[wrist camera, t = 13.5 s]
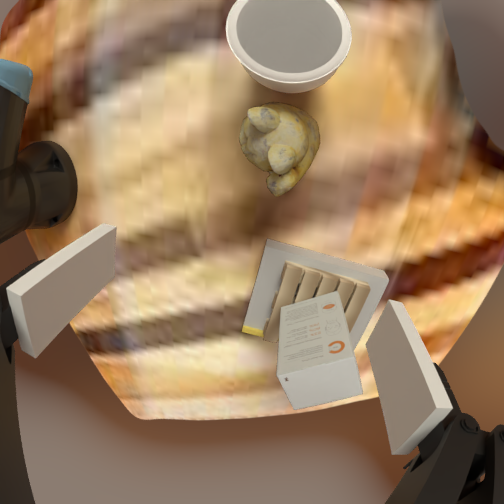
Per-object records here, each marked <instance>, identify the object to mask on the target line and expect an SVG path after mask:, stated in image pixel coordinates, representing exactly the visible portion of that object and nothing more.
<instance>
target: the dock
mask: <svg viewBox="0 0 504 504" xmlns="http://www.w3.org/2000/svg"><path fill="white" fill-rule="evenodd" d="M285 260H286V261H290V262H293V263H297V264H301V265H305V266H308V267H312V268H316V269H320V270H323V271H327V272H331V273H335V274H338V275H342V276H346V277H350V278H353V279H357V280H361V281H365V282H368V284H369V286H370V289H371V290H370V293H369V295H368V297H367V299H366V301H365V303H364V306H363V308H362V310H361V312H360V314H359V316H358V318H357V320H356V322H355V324H354V326H353V328H352V330H351V332H350V337H351V341H352V345H353V349H354V350H355V348H356V346H357V344H358V342H359V340H360V338H361V337H362V335H363V333H364V331H365V329H366V327H367V325H368V323H369V321H370V319H371V317H372V315H373V313H374V311H375V309H376V307H377V305H378V303H379V301H380V299H381V297H382V295H383V292H384V290H385V288H386V286H387V284H388V282H389V279H388V277H387V275H386V273H385V272H384V271H383V270H380V269H376V268H373V267H369V266H366V265H362V264H359V263H355V262H351V261H348V260H344V259H341V258H337V257H334V256H330V255H326V254H323V253H319V252H315V251H312V250H308V249H304V248H301V247H297V246H293V245H290V244H286V243H282V242H279V241H275V240H271V239H267V242H266V245H265V249H264V252H263V256H262V260H261V263H260V267H259V270H258V274H257V278H256V281H255V285H254V288H253V292H252V296H251V299H250V303H249V306H248V310H247V313H246V317H245V321H244V325H243V329H242V332H245V333H248V334H252V335H256V336H260V337H264V335H263V329H264V326H265V323H266V320H267V318H269V319H270V316H271V313H272V310H273V308H271V307H272V301H273V298H274V295H275V292H276V291H279V288H280V285H281V282H282V279H281V273H282V270H283V267H284V263H285ZM299 285H300V283H298V286H297V289H296V291H295V294H294V296H296V293H297V291H298V288H299ZM316 290H317V288H316V289H315V292H316ZM315 292H314V295H315ZM314 295H313V297H312V298H314ZM349 298H350V297H349ZM345 307H346V306H345ZM278 341H279V338H278Z"/></svg>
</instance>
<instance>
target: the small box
mask: <svg viewBox="0 0 504 504" xmlns="http://www.w3.org/2000/svg"><path fill="white" fill-rule="evenodd" d="M276 376H277V378H278V379H279V381H280V383H281V385H282V387H283V389H284V391H285V393H286V395H287V397H288V399H289V401H290V403H291V405H292V407H293V409H294V410H297V409H302V408H307V407H311V406H316V405H321V404H325V403H329V402H333V401H337V400H341V399H345V398H349V397H353V396H357V395H360V394H363V390H362V385H361V379H360V375H359V370H358V366H357V362H356V357H355V353H354V349H353V345H352V341H351V337H350V333H349V329H348V325H347V321H346V317H345V313H344V310H343V306H342V302H341V299H340V295H339V293H338V291H334V292H331V293H328V294H324V295H321V296H318V297H314V298H311V299H307V300H304V301H301V302H297V303H294V304H290V305H287V306H283V307H281V312H280V325H279V343H278V358H277V372H276Z"/></svg>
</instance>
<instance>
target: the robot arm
mask: <svg viewBox="0 0 504 504" xmlns="http://www.w3.org/2000/svg"><path fill="white" fill-rule="evenodd" d="M32 81H33V73H32V70H31V69H30V68H29V67H28V66H26V65H23V64H20V63H16V62H12V61H8V60H4V59H0V244H1V243H3V242H4V241H6V240H8V239H9V238H11V237H13V236H15V235H16V234H18V233H20V232H22V231H24V230H26V229H42V228H50V227H53V226H55V225H57V224H59V223H61V222H63V221H64V220H65V219H67V217H68V216H69V215H70V213H71V212H72V210H73V208H74V205H75V201H76V196H77V178H76V172H75V169H74V166H73V163H72V161H71V159H70V157H69V155H68V154H67V152H66V151H65V150H64V149H63V148H62V147H61V146H60V145H59V144H57V143H55V142H52V141H41V142H36V143H33V144H30V145H29V146H27V147H26V148H24V149H23V150H21V151H20V152H19V153H18V150H19V144H20V138H21V132H22V127H23V123H24V118H25V113H26V109H27V105H28V104H29V94H30V90H31V85H32ZM115 245H116V227H115V226H112V225H108V224H105V223H103V224H101V225H99V226H98V227H96V228H95V229H93V230H91V231H90V232H88V233H86V234H85V235H83V236H82V237H80V238H78V239H77V240H75V241H74V242H72V243H71V244H69V245H68V246H66V247H64V248H63V249H61V250H60V251H58V252H57V253H55V254H54V255H52V256H51V257H49V258H48V259H46V260H45V259H43V260H40V261H37V262H35V263H33V264H31V265H30V266H28V267H27V268H25V270H22V271H21V272H20V273H19V274H17V275H15V276H14V277H13V278H11V279H10V280H8V281H7V282H6V283H4V284H3V285H1V286H0V504H35V501H34V498H33V494H32V490H31V486H30V482H29V478H28V474H27V469H26V464H25V459H24V454H23V448H22V442H21V436H20V428H19V421H18V412H17V400H16V385H15V350H14V346H13V343H14V342H15V341H16V340H17V339H19V343H20V346H21V349H22V351H24V352H26V353H27V354H29V355H31V356H33V357H34V358H37V356H38V355H39V354H40V353H41V352H42V351H43V350H44V348H46V347H47V345H48V344H49V343H50V342H51V341H52V340H53V339H54V338H55V337H56V336H57V335H58V333H60V332H61V330H62V329H63V328H64V327H65V326H66V325H67V324H68V323H69V322H70V321H71V320H72V319H73V318H74V317H75V316H76V315H77V314H78V313H79V312H80V311H81V310H82V309H83V308H84V307H85V306H86V305H87V304H88V303H89V302H90V301H91V300H92V299H93V298H94V297H95V296H96V295H97V294H98V293H99V292H100V291H101V290H102V289H103V288H104V287H105V286H106V285H107V284H108V283H109V282H110V281H111V280H112V279H113V278H114V275H115ZM366 348H367V351H368V355H369V358H370V362H371V366H372V370H373V373H374V377H375V381H376V385H377V389H378V393H379V397H380V401H381V405H382V410H383V414H384V419H385V423H386V428H387V433H388V436H389V442H390V447H391V452H392V454H409V453H410V452H411V451H412V450H414V448H416V446H418V447H419V451H420V453H419V454H418V455H417V456H416V457H415V458H413V459H412V460H411V461H410V462H409V463H408V464H407V465H406V466H405V467H403V468H404V469H406V468H407V467H408V466H409V468H408V469H407V471H406V473H405V474H404V476H403V477H402V479H401V481H400V482H399V484H398V485H397V487H396V488H395V490H394V491H393V493H392V494H391V495H390V497H389V498H388V500H387V501H386V503H385V504H504V425H498V426H496V427H495V428H494V429H493V430H492V431H491V432H486V431H483V430H480V427H479V424H478V423H477V421H476V420H475V419H474V418H473V417H472V416H470V415H468V414H465V413H461V410H460V408H459V406H458V403H457V401H456V399H455V397H454V394H453V392H452V390H451V389H450V385H449V383H448V382H447V379H446V377H445V375H444V373H443V371H442V370H441V369H440V367H439V366H438V365H437V364H436V363H433V362H432V360H431V358H430V356H429V354H428V352H427V350H426V348H425V346H424V343H423V341H422V340H421V338H420V336H419V334H418V332H417V330H416V328H415V326H414V324H413V322H412V320H411V318H410V316H409V314H408V313H407V311H406V309H405V307H404V305H403V303H401V302H397V301H393V300H388V302H387V304H386V306H385V308H384V310H383V312H382V314H381V316H380V318H379V320H378V322H377V324H376V326H375V328H374V330H373V332H372V334H371V335H370V337H369V339H368V341H367V343H366ZM484 473H485V478H484V480H483V481H482V482H480V477H481V476H482V475H483V474H484Z"/></svg>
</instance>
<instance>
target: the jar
mask: <svg viewBox="0 0 504 504" xmlns="http://www.w3.org/2000/svg"><path fill="white" fill-rule="evenodd" d="M226 35H227V40H228V43H229V46H230V48H231V50H232V52H233V53H234V55H235V56H236V57H237V59H238V60H239V61H240V62H241V64H242V65H243V67H244V69H245V70H246V71H247V72H248V74H249V75H250V76H251V77H252V78H254V79H255V80H256V81H257V82H259V83H260V84H262V85H263V86H265V87H267V88H270V89H272V90H275V91H279V92H284V93H302V92H307V91H310V90H313V89H315V88H317V87H319V86H321V85H323V84H324V83H325V82H327V81H328V80H329V79H330V78H331V77H332V76H333V75H334V73H335V72H336V70H337V69H338V67H339V66H340V65H341V64H342V63H343V61H344V60H345V58H346V57H347V54H348V52H349V49H350V45H351V39H352V32H351V26H350V22H349V19H348V17H347V15H346V13H345V11H344V10H343V8H342V7H341V6H340V5H339V3H338V2H337V1H336V0H237V1H236V2H235V4H234V5H233V7H232V8H231V10H230V12H229V15H228V18H227V22H226Z"/></svg>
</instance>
